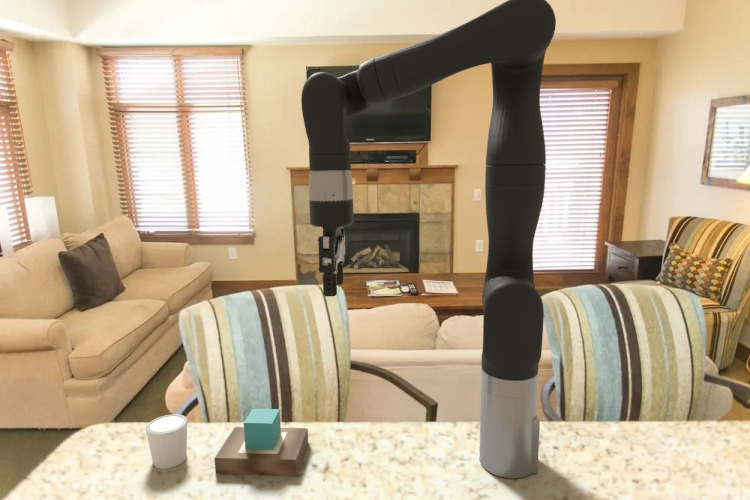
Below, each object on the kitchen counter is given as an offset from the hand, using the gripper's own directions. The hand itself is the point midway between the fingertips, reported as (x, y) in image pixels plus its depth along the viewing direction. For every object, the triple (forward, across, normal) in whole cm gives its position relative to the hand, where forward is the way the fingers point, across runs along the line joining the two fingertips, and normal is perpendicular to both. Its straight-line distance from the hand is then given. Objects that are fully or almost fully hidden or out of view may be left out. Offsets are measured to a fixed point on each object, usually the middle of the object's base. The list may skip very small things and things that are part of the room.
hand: (334, 289), depth 85 cm
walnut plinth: (+30, -4, +13) cm, 33 cm away
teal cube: (+27, -4, +13) cm, 30 cm away
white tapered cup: (+30, -5, +30) cm, 43 cm away
